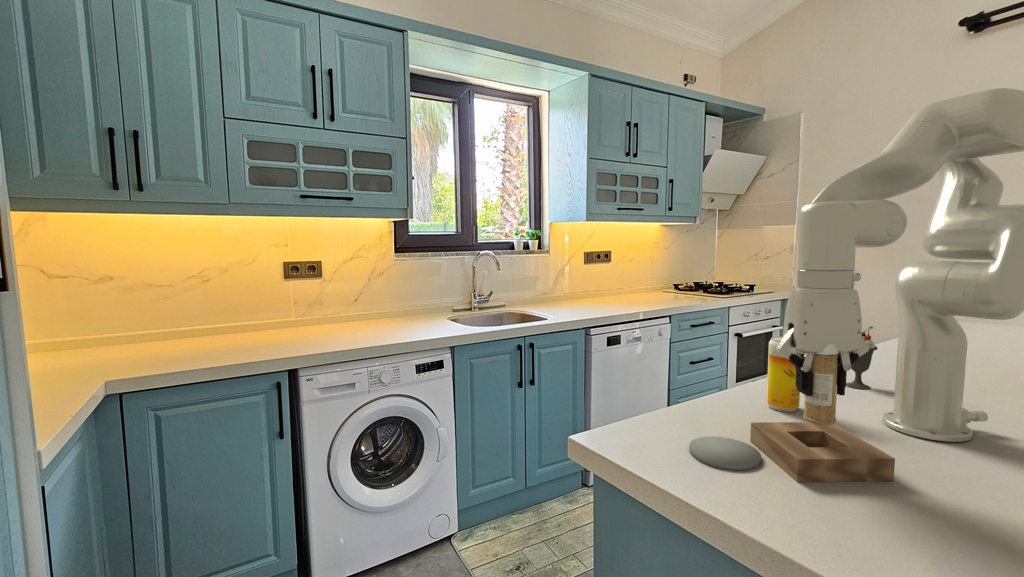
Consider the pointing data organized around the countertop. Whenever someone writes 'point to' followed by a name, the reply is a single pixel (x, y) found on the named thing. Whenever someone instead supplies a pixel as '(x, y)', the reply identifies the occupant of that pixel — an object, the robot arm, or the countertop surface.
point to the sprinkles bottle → (823, 388)
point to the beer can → (781, 380)
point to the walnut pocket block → (821, 452)
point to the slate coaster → (725, 453)
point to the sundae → (862, 363)
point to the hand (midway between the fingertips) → (820, 391)
